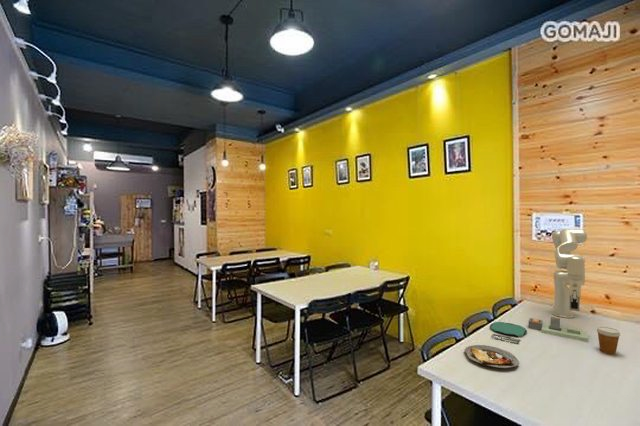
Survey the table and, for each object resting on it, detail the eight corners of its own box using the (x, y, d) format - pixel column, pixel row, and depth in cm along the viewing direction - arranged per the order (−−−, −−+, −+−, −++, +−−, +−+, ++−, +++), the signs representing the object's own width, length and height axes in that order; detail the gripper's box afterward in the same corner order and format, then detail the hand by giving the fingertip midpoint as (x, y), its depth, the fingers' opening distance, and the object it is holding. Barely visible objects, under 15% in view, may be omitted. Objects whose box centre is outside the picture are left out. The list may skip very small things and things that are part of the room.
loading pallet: (527, 330, 201) (527, 322, 200) (530, 323, 212) (530, 316, 211) (588, 342, 183) (588, 334, 182) (587, 334, 194) (587, 326, 194)
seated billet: (550, 331, 197) (550, 318, 197) (550, 329, 201) (550, 316, 201) (559, 333, 194) (559, 320, 194) (559, 331, 198) (560, 318, 198)
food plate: (526, 374, 150) (526, 366, 150) (472, 369, 154) (472, 362, 154) (506, 351, 174) (506, 344, 174) (460, 348, 179) (460, 341, 179)
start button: (531, 324, 204) (532, 320, 203) (532, 323, 206) (532, 318, 206) (538, 326, 201) (538, 321, 201) (539, 324, 204) (539, 319, 204)
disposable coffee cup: (610, 348, 176) (610, 326, 176) (624, 356, 167) (625, 333, 166) (591, 347, 177) (592, 325, 177) (605, 355, 168) (605, 332, 167)
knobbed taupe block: (569, 309, 191) (569, 296, 191) (569, 307, 195) (569, 294, 195) (579, 311, 189) (579, 297, 188) (579, 309, 192) (579, 295, 192)
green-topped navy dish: (528, 329, 202) (528, 326, 202) (522, 347, 179) (522, 343, 179) (493, 322, 215) (493, 319, 215) (483, 338, 191) (483, 334, 191)
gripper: (583, 280, 182) (582, 312, 183) (582, 275, 196) (582, 305, 196) (566, 278, 187) (566, 309, 187) (567, 273, 200) (566, 302, 201)
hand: (574, 307), depth 192 cm, fingers closed on knobbed taupe block, 4 cm apart
